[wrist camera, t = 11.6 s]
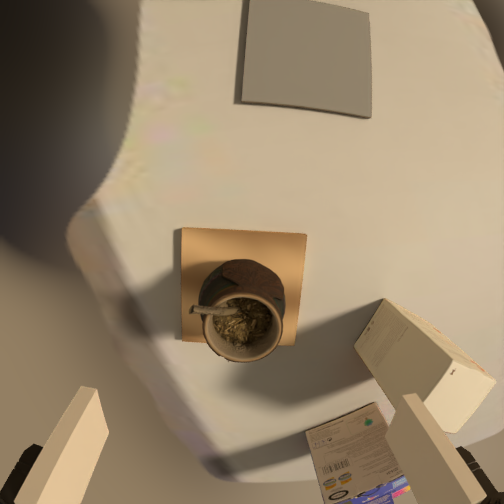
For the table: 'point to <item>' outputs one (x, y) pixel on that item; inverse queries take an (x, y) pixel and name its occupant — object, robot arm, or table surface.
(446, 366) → the small box
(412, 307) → the table surface
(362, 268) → the table surface
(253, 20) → the felt pad
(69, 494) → the robot arm
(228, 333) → the mate gourd
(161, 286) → the table surface
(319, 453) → the ink cartridge box
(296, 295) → the square wooden coaster
